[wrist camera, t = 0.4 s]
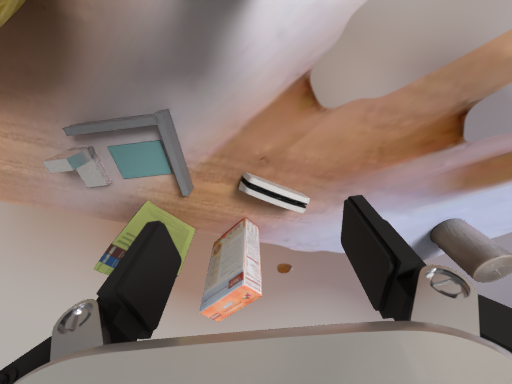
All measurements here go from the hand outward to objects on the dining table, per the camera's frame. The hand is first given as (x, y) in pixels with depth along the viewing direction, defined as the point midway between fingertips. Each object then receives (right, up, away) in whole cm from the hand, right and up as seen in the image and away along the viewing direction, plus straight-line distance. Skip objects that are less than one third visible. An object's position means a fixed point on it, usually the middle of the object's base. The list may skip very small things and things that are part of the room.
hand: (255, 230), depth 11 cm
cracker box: (-6, -11, +49) cm, 51 cm away
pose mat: (-27, +9, +36) cm, 46 cm away
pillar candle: (+57, -9, +49) cm, 75 cm away
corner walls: (-27, +9, +36) cm, 46 cm away
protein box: (-26, -8, +47) cm, 54 cm away
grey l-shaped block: (-39, +8, +37) cm, 54 cm away
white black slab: (+4, +4, +41) cm, 41 cm away
